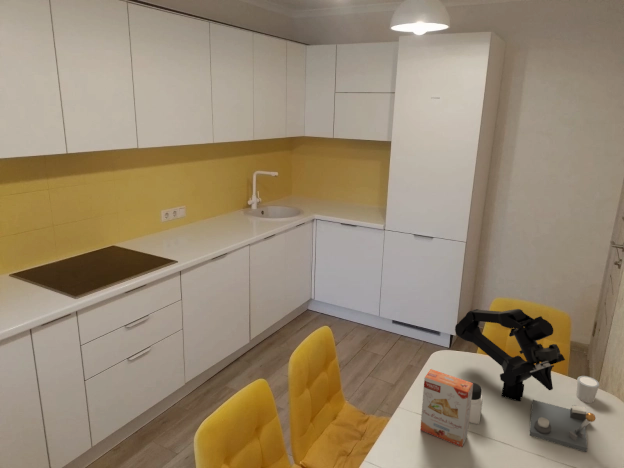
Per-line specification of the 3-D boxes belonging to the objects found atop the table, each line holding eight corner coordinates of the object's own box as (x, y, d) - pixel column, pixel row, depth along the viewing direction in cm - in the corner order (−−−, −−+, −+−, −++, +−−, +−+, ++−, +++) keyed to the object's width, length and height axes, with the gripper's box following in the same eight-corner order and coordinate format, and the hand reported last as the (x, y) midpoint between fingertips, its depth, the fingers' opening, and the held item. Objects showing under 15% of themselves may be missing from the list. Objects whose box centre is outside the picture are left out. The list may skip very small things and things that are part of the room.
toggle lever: (570, 431, 144) (586, 412, 138) (576, 428, 145) (591, 409, 139) (577, 438, 142) (593, 419, 136) (583, 436, 143) (599, 417, 137)
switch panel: (529, 435, 147) (530, 427, 146) (532, 403, 162) (533, 395, 161) (587, 452, 140) (589, 444, 139) (584, 417, 155) (586, 409, 154)
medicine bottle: (481, 412, 158) (484, 382, 154) (479, 425, 152) (482, 394, 148) (459, 406, 161) (462, 377, 157) (456, 419, 155) (460, 389, 151)
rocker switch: (572, 412, 152) (572, 409, 152) (572, 408, 154) (572, 405, 154) (586, 414, 150) (586, 411, 150) (585, 410, 152) (585, 407, 152)
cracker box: (419, 431, 149) (423, 376, 143) (426, 420, 154) (430, 367, 148) (462, 448, 142) (468, 392, 135) (467, 437, 146) (474, 381, 140)
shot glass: (599, 404, 161) (602, 388, 159) (578, 402, 162) (581, 385, 160) (591, 392, 167) (595, 376, 165) (571, 390, 169) (574, 374, 167)
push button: (537, 425, 146) (538, 422, 146) (537, 419, 149) (538, 416, 149) (548, 429, 145) (549, 425, 144) (548, 422, 148) (549, 419, 147)
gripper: (523, 343, 147) (547, 392, 140) (564, 332, 154) (589, 377, 147) (502, 353, 156) (524, 398, 149) (541, 341, 163) (564, 384, 156)
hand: (551, 389), depth 150 cm, fingers closed
